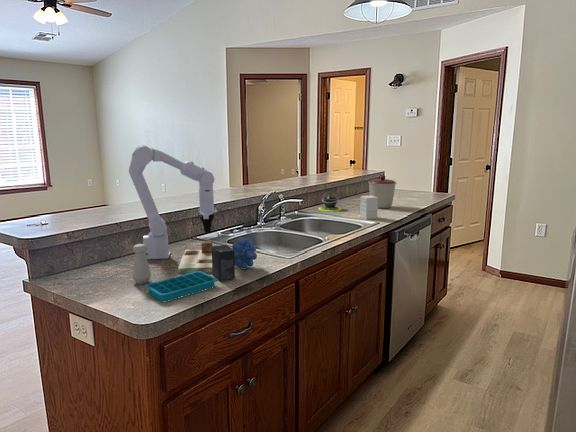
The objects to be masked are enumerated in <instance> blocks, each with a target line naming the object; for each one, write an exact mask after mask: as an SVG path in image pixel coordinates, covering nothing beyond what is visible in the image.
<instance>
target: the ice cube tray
mask: <svg viewBox="0 0 576 432" xmlns="http://www.w3.org/2000/svg"><path fill="white" fill-rule="evenodd" d="M216 281H217V282H218V279H217V278H216V277H215V276H213V275H210V274H208V273H204V272H202V271H196V272H193V273H188V274H180V275H178V276H174V277H170V278H166V279H163V280H158V281H155V282H151V283H146V284H145V288H146V289H148V294H149V295H150V296H152V297H154V298H155V299H157V300H158V299H159V300H158V301H159V302H162V301H167V302H169V301H168V300H171V301H173V300H172V299H174V300H176V299H175V298H177V299H179V298H178V297H181V296H184V297H186V296H185V295H187V296H189V295H188V294H191V295H193V294H192V293H194V294H197V293H199V291H201V292H203V291H202V290H204V291H206V290H205V289H208V290H210V289H209V288H211V289H213V288H215V282H216ZM212 287H213V288H212ZM196 292H197V293H196ZM181 298H182V297H181Z"/></svg>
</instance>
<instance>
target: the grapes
mask: <svg viewBox="0 0 576 432" xmlns="http://www.w3.org/2000/svg"><path fill="white" fill-rule="evenodd" d="M231 248H232V249H234V252H235V267H240V268H241V269H242V270H245V269H247V268H248V267H253V265H254V261H255V260H257V257H258V254H257V253H256V251H257V246H256V244H254V243H252V240H251V239H250V238H243V237H239V238H238V239H237V242H233V243H232V246H231Z"/></svg>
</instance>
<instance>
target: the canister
mask: <svg viewBox="0 0 576 432" xmlns="http://www.w3.org/2000/svg"><path fill="white" fill-rule="evenodd" d="M367 183H368V184H369V186H368V187H369V188H368V189H369V196H371V195H372V196H375V197H378V207H377V209H390V208H391V207H392V205H393V200H394V196H395V191H396V185H397V184H398V183H397V181H395V180H393V179H388V178H386V175H383V174H381V175H380V176H379V178H375V179H371V180H368V182H367Z"/></svg>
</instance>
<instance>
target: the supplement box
mask: <svg viewBox="0 0 576 432" xmlns="http://www.w3.org/2000/svg"><path fill="white" fill-rule="evenodd" d="M377 207H378V197H375V196H372V195H371V196H370V195H360V211H359V215H360V216H359V217H360V218H361V219H364V220H366V221H367V220H377V219H378V208H377Z"/></svg>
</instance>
